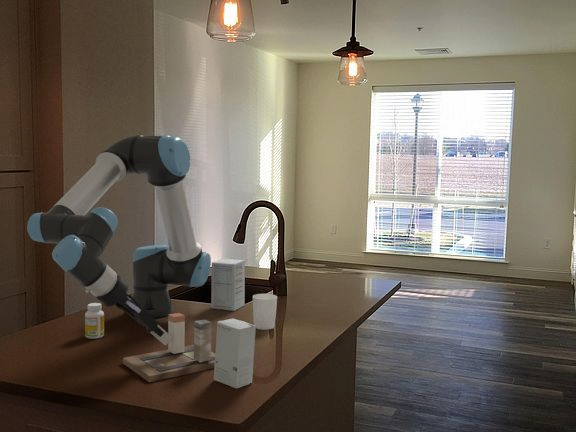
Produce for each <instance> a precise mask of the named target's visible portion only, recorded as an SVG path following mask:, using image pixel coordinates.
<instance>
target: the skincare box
mask: <svg viewBox="0 0 576 432" xmlns="http://www.w3.org/2000/svg"><path fill="white" fill-rule="evenodd" d="M215 336H216V337H215V352H214V353H215V366H214V368H213V381H215V382H217V383H218V382H219V383H220V384H223V385H226V386H229V387H231V388H234V389H239V388H242V387H244V386H248V385H250V383H251V384H252V383H253V376H254V359H255V344H256V343H255V342H256V326H255V325H254V324H252V323H249V322H246V321H244V320H240V319H236V318H233V317H232V318H229V319H225V320H218V321H217V322H216V335H215Z"/></svg>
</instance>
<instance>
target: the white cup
mask: <svg viewBox="0 0 576 432" xmlns="http://www.w3.org/2000/svg"><path fill="white" fill-rule="evenodd" d="M277 303H278V296H277V295H275V294H271V293H257V294H253V295H252V313H253V314H252V316H253V325H255V326H256V329H257V330H261V331H262V330H263V331H264V330H265V331H267V330H273V329H274V328H275V327H276V317H277V316H276V315H277V305H278V304H277Z"/></svg>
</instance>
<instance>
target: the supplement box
mask: <svg viewBox="0 0 576 432" xmlns="http://www.w3.org/2000/svg"><path fill="white" fill-rule="evenodd" d="M245 262H246V261H245V259H232V258H231V259H230V258H220V259H218V260H215V261H211V282H210V283H211V284H210V285H211V286H210V287H211V289H210V290H211V291H210V292H211V296H210V297H211V298H210V299H211V300H210V301H211V303H210V304H211V307H210V308H211V309H212V310H213V309H215V310H222V309H223V310H224V311H231V312H232V311H234V312H235V311H237V310H238V309H240V308H242V307H244V306H245V299H246V298H245V294H246V293H245V292H246V291H245V290H246V289H245V282H246V281H245V280H246V279H245V277H246V276H245V275H246V274H245V269H246V267H245V266H246V263H245Z"/></svg>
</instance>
